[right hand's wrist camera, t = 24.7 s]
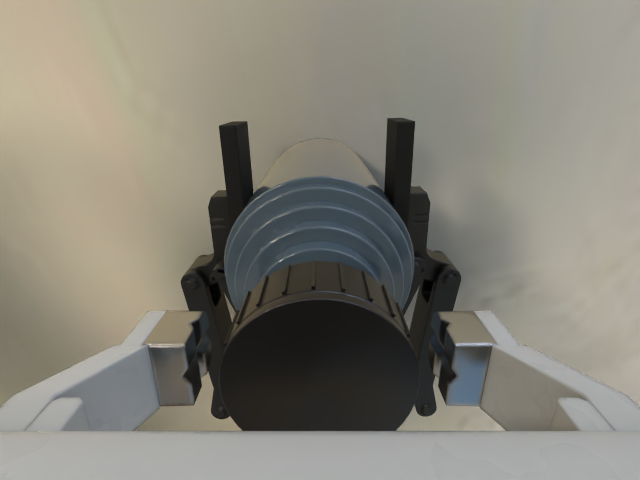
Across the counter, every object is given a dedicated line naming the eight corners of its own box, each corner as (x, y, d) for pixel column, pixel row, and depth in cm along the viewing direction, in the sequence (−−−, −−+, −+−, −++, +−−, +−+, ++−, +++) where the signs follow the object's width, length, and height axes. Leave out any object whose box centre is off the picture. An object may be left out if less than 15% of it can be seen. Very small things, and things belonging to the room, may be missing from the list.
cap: (223, 385, 11) (204, 444, 9) (250, 240, 9) (232, 275, 7) (376, 413, 11) (387, 474, 9) (427, 278, 10) (452, 320, 8)
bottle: (376, 234, 26) (469, 458, 10) (277, 247, 27) (212, 486, 10) (365, 130, 24) (467, 205, 8) (256, 147, 24) (127, 254, 8)
